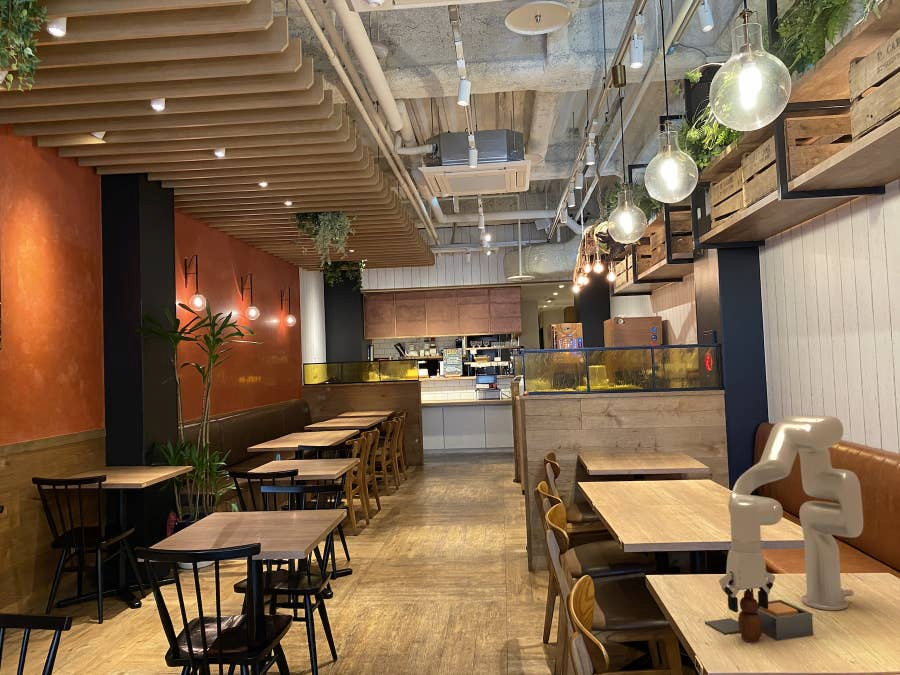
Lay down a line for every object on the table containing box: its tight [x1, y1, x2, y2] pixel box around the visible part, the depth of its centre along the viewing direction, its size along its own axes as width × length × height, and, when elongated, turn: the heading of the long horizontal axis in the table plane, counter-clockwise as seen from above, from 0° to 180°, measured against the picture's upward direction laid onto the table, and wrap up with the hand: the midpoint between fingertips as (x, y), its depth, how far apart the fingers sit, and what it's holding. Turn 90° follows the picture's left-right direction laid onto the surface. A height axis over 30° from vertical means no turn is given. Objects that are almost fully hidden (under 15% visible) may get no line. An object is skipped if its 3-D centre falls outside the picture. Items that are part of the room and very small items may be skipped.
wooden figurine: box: [737, 588, 763, 643], centre depth 189 cm, size 7×6×15 cm
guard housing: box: [757, 599, 814, 642], centre depth 195 cm, size 12×12×6 cm
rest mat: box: [704, 617, 740, 636], centre depth 198 cm, size 9×9×1 cm
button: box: [759, 602, 798, 617], centre depth 195 cm, size 7×7×2 cm
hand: (748, 609), depth 189 cm, fingers open, 9 cm apart
